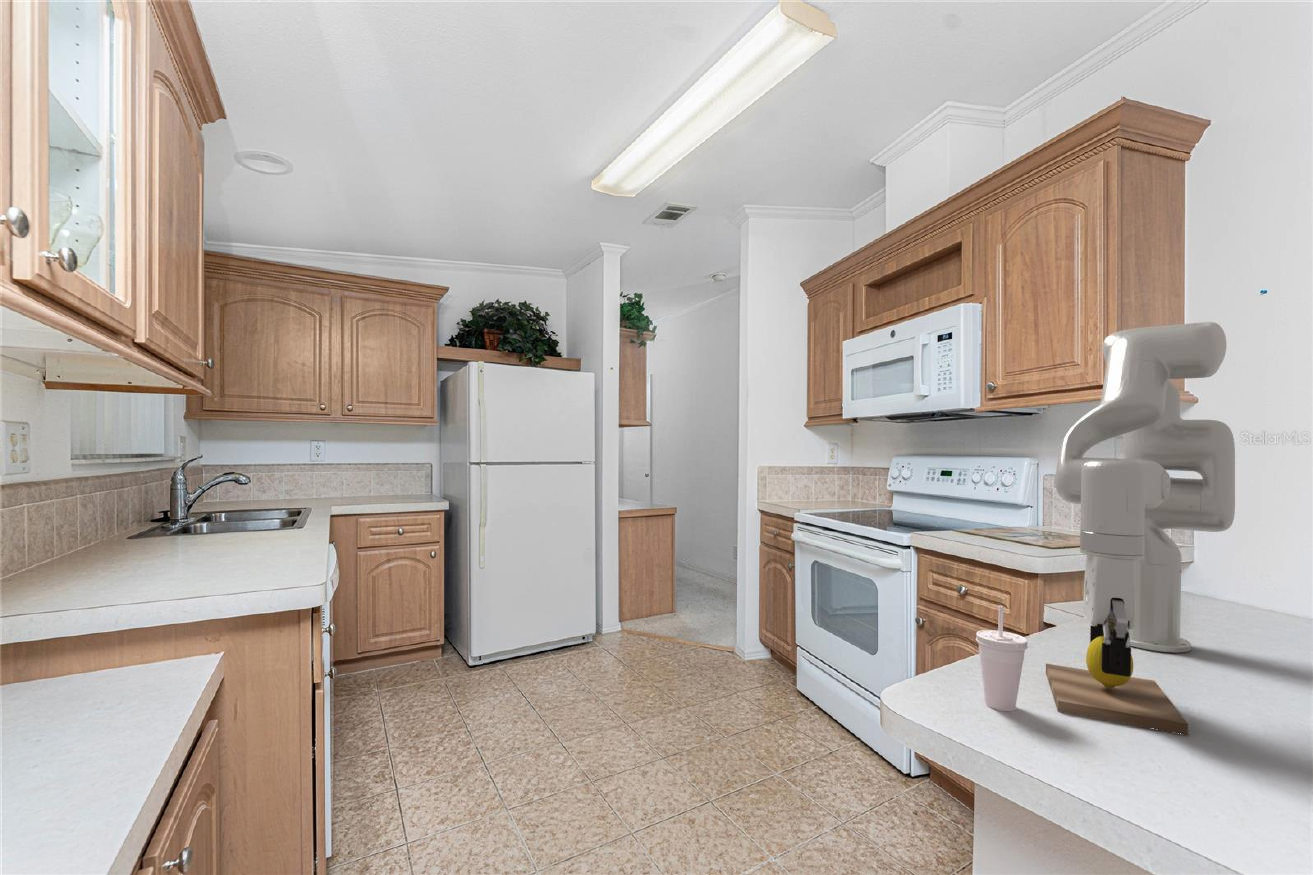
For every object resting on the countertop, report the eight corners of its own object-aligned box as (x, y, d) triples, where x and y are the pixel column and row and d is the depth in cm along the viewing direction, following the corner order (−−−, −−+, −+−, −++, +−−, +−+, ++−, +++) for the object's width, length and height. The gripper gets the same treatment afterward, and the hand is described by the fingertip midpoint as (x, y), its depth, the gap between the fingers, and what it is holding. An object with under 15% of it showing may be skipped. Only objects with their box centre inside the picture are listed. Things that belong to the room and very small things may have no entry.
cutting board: (1045, 672, 100) (1045, 663, 100) (1154, 690, 94) (1154, 680, 94) (1057, 711, 85) (1057, 700, 85) (1188, 735, 79) (1188, 724, 79)
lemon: (1140, 699, 87) (1142, 641, 87) (1096, 694, 88) (1098, 638, 88) (1120, 684, 92) (1121, 630, 92) (1078, 680, 93) (1079, 626, 93)
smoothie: (968, 705, 87) (970, 604, 87) (981, 692, 91) (983, 597, 91) (1020, 720, 82) (1022, 614, 82) (1031, 706, 87) (1033, 605, 87)
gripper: (1072, 535, 99) (1070, 642, 99) (1089, 550, 84) (1087, 677, 84) (1130, 540, 96) (1128, 651, 96) (1159, 556, 80) (1157, 689, 80)
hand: (1109, 663), depth 90 cm, fingers open, 9 cm apart
